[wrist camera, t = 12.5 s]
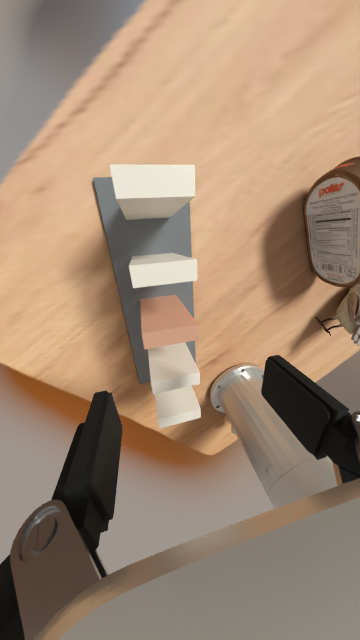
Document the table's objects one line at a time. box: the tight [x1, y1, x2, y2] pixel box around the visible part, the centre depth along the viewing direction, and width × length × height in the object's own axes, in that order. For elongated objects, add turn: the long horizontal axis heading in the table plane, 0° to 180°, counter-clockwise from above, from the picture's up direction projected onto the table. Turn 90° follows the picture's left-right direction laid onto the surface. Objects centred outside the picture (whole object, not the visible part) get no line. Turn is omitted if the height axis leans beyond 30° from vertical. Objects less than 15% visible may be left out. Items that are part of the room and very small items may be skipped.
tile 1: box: [110, 165, 195, 220], centre depth 15 cm, size 2×5×10 cm, turn 94°
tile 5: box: [155, 386, 201, 428], centre depth 24 cm, size 2×5×10 cm, turn 94°
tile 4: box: [148, 342, 200, 394], centre depth 22 cm, size 2×5×10 cm, turn 94°
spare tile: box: [140, 295, 199, 350], centre depth 19 cm, size 2×5×10 cm, turn 94°
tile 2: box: [129, 253, 197, 288], centre depth 17 cm, size 2×5×10 cm, turn 94°
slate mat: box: [93, 177, 196, 384], centre depth 24 cm, size 28×10×1 cm, turn 4°
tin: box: [304, 157, 360, 287], centre depth 22 cm, size 15×3×8 cm, turn 28°
